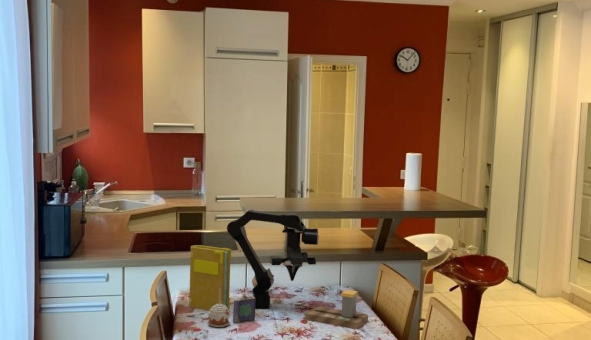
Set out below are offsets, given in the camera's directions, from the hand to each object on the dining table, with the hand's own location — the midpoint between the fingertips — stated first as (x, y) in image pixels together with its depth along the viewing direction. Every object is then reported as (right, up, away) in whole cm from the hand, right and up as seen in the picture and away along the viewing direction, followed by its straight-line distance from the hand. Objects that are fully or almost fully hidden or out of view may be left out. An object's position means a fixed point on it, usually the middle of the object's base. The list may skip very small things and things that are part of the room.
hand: (292, 280), depth 241 cm
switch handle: (+22, -13, -14) cm, 29 cm away
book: (-35, -11, -2) cm, 37 cm away
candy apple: (-27, -13, -23) cm, 38 cm away
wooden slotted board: (+18, -13, -12) cm, 25 cm away
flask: (-19, -13, -17) cm, 28 cm away
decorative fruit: (-14, -10, +25) cm, 30 cm away
